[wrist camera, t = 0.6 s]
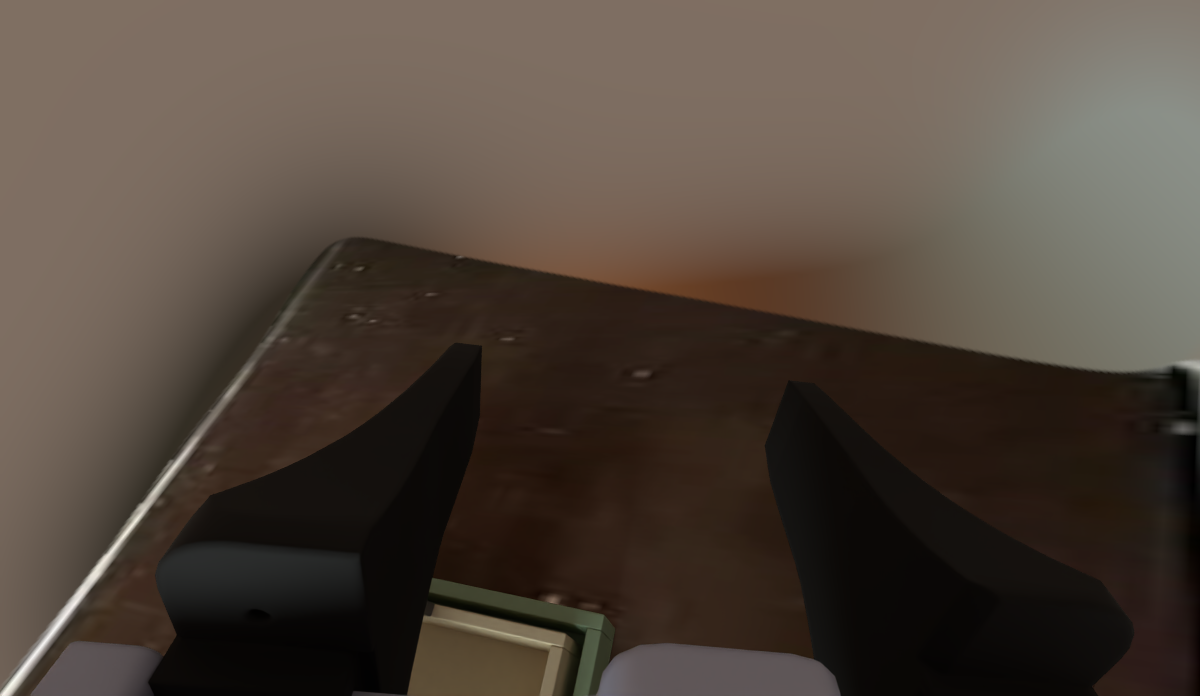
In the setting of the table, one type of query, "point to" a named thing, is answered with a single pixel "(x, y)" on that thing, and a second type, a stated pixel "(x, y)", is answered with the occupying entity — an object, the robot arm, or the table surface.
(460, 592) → the sage bin
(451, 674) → the cream bin
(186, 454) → the table surface
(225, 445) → the table surface
